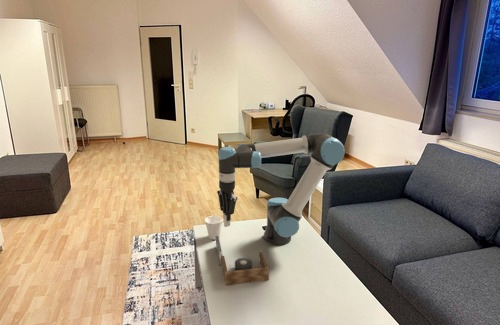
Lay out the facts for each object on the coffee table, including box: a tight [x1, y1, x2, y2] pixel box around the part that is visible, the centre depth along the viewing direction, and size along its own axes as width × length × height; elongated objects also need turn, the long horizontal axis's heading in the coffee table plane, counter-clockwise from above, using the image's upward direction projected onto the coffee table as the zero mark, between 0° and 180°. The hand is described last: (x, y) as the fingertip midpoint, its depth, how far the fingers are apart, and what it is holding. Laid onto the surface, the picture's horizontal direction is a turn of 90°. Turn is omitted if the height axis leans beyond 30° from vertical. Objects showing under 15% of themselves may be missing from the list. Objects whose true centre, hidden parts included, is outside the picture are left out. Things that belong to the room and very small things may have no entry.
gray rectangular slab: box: [215, 236, 224, 267], centre depth 173 cm, size 18×2×7 cm, turn 11°
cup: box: [204, 215, 224, 241], centre depth 190 cm, size 10×10×11 cm
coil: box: [234, 257, 253, 271], centre depth 163 cm, size 8×8×4 cm
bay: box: [221, 251, 270, 286], centre depth 159 cm, size 19×14×6 cm
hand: (227, 225), depth 169 cm, fingers closed
